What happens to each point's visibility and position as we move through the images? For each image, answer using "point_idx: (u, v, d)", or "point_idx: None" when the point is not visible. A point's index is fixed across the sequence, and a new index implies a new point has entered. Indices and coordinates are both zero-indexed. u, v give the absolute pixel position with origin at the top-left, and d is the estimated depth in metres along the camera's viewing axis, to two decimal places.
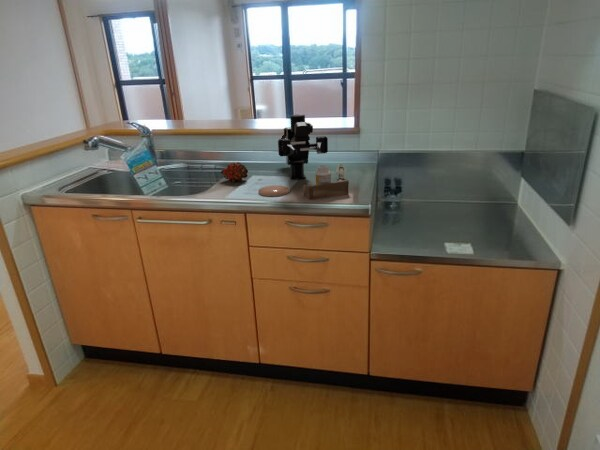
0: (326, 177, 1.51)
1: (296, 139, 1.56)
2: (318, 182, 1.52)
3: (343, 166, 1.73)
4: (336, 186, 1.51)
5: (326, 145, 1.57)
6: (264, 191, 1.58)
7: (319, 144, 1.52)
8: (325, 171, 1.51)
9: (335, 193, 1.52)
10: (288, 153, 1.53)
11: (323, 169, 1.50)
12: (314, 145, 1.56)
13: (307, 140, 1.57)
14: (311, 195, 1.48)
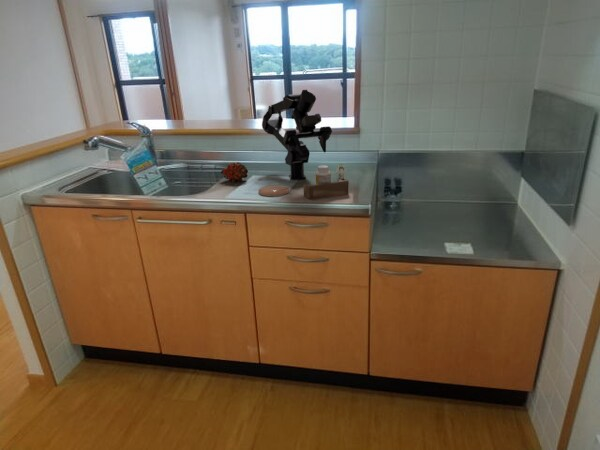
0: (326, 177, 1.51)
1: (303, 129, 1.58)
2: (318, 182, 1.52)
3: (343, 166, 1.72)
4: (336, 186, 1.51)
5: (329, 135, 1.63)
6: (264, 191, 1.58)
7: (325, 142, 1.60)
8: (325, 171, 1.51)
9: (335, 193, 1.52)
10: (294, 147, 1.59)
11: (323, 169, 1.50)
12: (318, 135, 1.62)
13: (312, 129, 1.60)
14: (311, 195, 1.48)
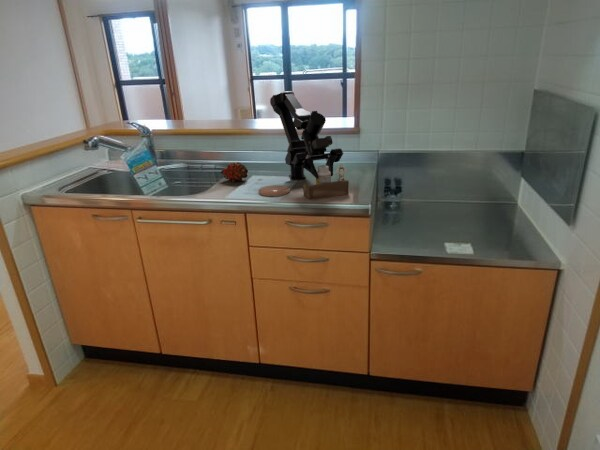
0: (326, 177, 1.51)
1: (313, 152, 1.53)
2: (318, 182, 1.52)
3: (343, 166, 1.72)
4: (336, 186, 1.51)
5: (340, 157, 1.58)
6: (264, 191, 1.58)
7: (332, 165, 1.54)
8: (325, 171, 1.51)
9: (335, 193, 1.52)
10: (308, 170, 1.54)
11: (323, 169, 1.50)
12: None
13: (323, 152, 1.55)
14: (311, 195, 1.48)
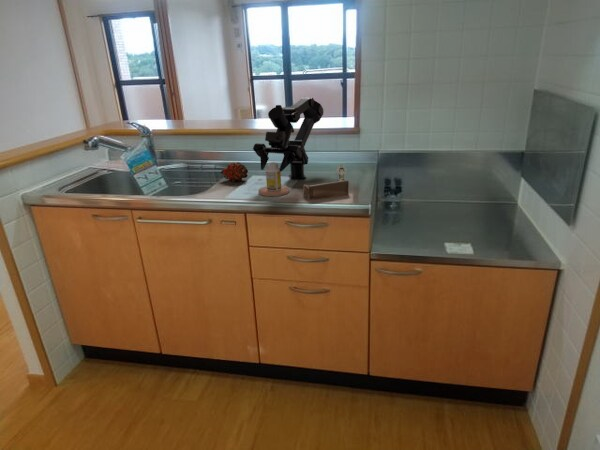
0: (269, 174, 1.55)
1: (270, 144, 1.57)
2: (266, 177, 1.58)
3: (343, 167, 1.71)
4: (336, 186, 1.51)
5: (297, 155, 1.54)
6: (264, 191, 1.58)
7: (283, 161, 1.54)
8: (270, 168, 1.55)
9: (335, 193, 1.52)
10: None
11: (268, 166, 1.55)
12: None
13: (281, 146, 1.56)
14: (311, 195, 1.48)
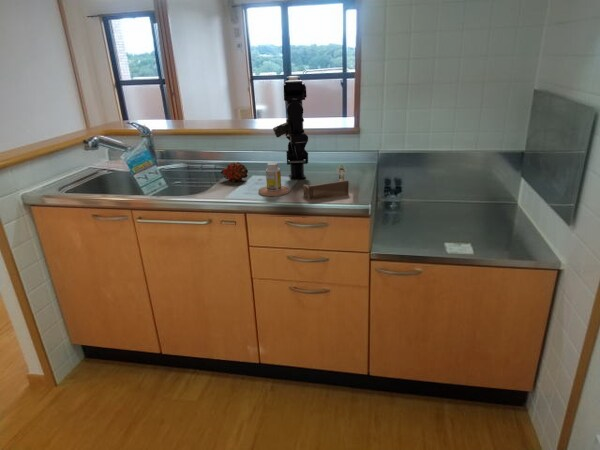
0: (269, 174, 1.55)
1: None
2: (266, 177, 1.58)
3: (343, 167, 1.70)
4: (336, 186, 1.51)
5: None
6: (264, 191, 1.58)
7: (295, 150, 1.54)
8: (270, 168, 1.55)
9: (335, 193, 1.52)
10: None
11: (268, 166, 1.55)
12: None
13: None
14: (311, 195, 1.48)
